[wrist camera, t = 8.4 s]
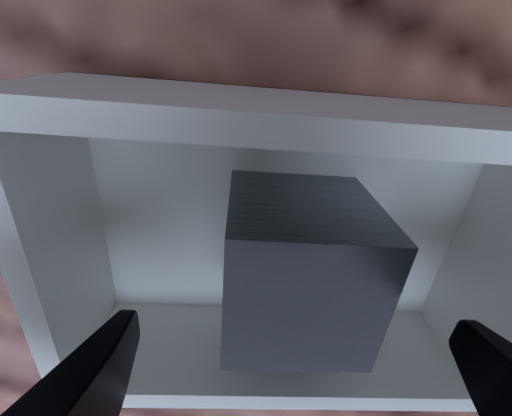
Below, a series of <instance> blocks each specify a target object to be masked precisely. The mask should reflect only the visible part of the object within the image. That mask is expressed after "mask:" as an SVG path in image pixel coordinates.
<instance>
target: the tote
mask: <svg viewBox="0 0 512 416" xmlns="http://www.w3.org/2000/svg"><path fill="white" fill-rule="evenodd" d="M232 170H242V171H258V172H275V173H291V174H308V175H324V176H341V177H356V178H357V179H358V180H359V181H360V183H361V184H362V185H363V186H364V187H365V188H366V189H367V190H368V192H369V193H370V194H371V195H372V196H373V197H374V198H375V200H376V201H377V202H378V203H379V204H380V205H381V206H382V207H383V209H384V210H385V211H386V212H387V213H388V214H389V215H390V217H391V218H392V219H393V220H394V221H395V222H396V223H397V224H398V226H399V227H400V228H401V229H402V230H403V231H404V232H405V234H406V235H407V236H408V237H409V238H410V239H411V240H412V242H413V243H414V244H415V245H416V246H417V247H418V248H419V249H418V252H417V254H416V257H415V260H414V262H413V265H412V267H411V270H410V273H409V275H408V278H407V280H406V283H405V286H404V288H403V291H402V294H401V296H400V299H399V301H398V304H397V307H396V309H395V312H394V314H393V317H392V320H391V322H390V325H389V327H388V330H387V333H386V335H385V338H384V340H383V343H382V346H381V348H380V351H379V353H378V356H377V359H376V361H375V364H374V366H373V369H372V372H371V373H342V372H289V371H235V370H220V356H221V327H222V299H223V270H224V242H225V231H226V222H227V212H228V203H229V194H230V184H231V175H232ZM0 272H1V274H2V277H3V280H4V282H5V285H6V288H7V290H8V293H9V295H10V298H11V301H12V303H13V306H14V309H15V311H16V314H17V316H18V319H19V322H20V324H21V327H22V330H23V332H24V335H25V337H26V340H27V343H28V345H29V348H30V351H31V353H32V356H33V358H34V361H35V364H36V366H37V369H38V371H39V374H40V377H41V379H42V378H43V377H44V376H45V375H47V374H48V373H49V372H50V371H51V370H52V369H53V368H54V367H56V366H57V365H58V364H59V363H60V362H61V361H62V360H64V359H65V358H66V357H67V356H68V355H69V354H70V353H71V352H73V351H74V350H75V349H76V348H77V347H78V346H79V345H81V344H82V343H83V342H84V341H85V340H86V339H87V338H88V337H90V336H91V335H92V334H93V333H94V332H95V331H96V330H98V329H99V328H100V327H101V326H102V325H103V324H104V323H105V322H107V321H108V320H109V319H110V318H111V317H112V316H113V315H115V314H116V313H117V312H118V311H119V310H122V309H129V310H136V311H137V313H138V319H139V327H140V339H139V343H138V347H137V351H136V355H135V359H134V363H133V367H132V371H131V375H130V379H129V383H128V387H127V391H126V395H125V399H124V402H123V405H122V408H194V409H284V410H374V411H464V412H477V410H476V408H475V406H474V404H473V402H472V400H471V398H470V395H469V393H468V391H467V388H466V386H465V384H464V381H463V379H462V376H461V374H460V372H459V369H458V367H457V365H456V362H455V360H454V357H453V355H452V353H451V350H450V348H449V337H450V335H451V334H452V332H453V330H454V328H455V326H456V324H457V322H458V321H459V320H462V319H466V320H476V321H478V322H480V323H481V324H483V325H485V326H486V327H488V328H489V329H491V330H492V331H494V332H496V333H497V334H499V335H500V336H502V337H503V338H505V339H507V340H508V341H510V342H511V343H512V108H510V107H501V106H489V105H476V104H464V103H451V102H438V101H426V100H413V99H401V98H388V97H375V96H363V95H350V94H338V93H325V92H312V91H300V90H287V89H275V88H262V87H249V86H237V85H224V84H212V83H199V82H186V81H174V80H161V79H149V78H136V77H123V76H111V75H98V74H86V73H73V72H65V73H57V74H49V75H40V76H32V77H23V78H15V79H7V80H0Z"/></svg>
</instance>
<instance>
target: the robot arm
mask: <svg viewBox="0 0 512 416" xmlns="http://www.w3.org/2000/svg"><path fill="white" fill-rule="evenodd" d="M139 339H140V327H139V319H138V313H137V311H136V310H129V309H122V310H119V311H118V312H117V313H116V314H115V315H113V316H112V317H111V318H110V319H109V320H108V321H107V322H105V323H104V324H103V325H102V326H101V327H100V328H99V329H98V330H96V331H95V332H94V333H93V334H92V335H91V336H90V337H88V338H87V339H86V340H85V341H84V342H83V343H82V344H81V345H79V346H78V347H77V348H76V349H75V350H74V351H73V352H71V353H70V354H69V355H68V356H67V357H66V358H65V359H64V360H62V361H61V362H60V363H59V364H58V365H57V366H56V367H54V368H53V369H52V370H51V371H50V372H49V373H48V374H47V375H45V376H44V377H43V378H42V379H41V380H40V381H39V382H37V383H36V384H35V385H34V386H33V387H32V388H31V389H30V390H28V391H27V392H26V393H25V394H24V395H23V396H22V397H20V398H19V399H18V400H17V401H16V402H15V403H14V404H12V405H11V406H10V407H9V408H8V409H7V410H6V411H5V412H3V413H2V414H1V415H0V416H119V414H120V411H121V408H122V405H123V402H124V399H125V395H126V391H127V387H128V383H129V379H130V375H131V371H132V367H133V363H134V359H135V355H136V351H137V347H138V343H139ZM449 348H450V350H451V353H452V355H453V357H454V360H455V362H456V365H457V367H458V369H459V372H460V374H461V376H462V379H463V381H464V384H465V386H466V388H467V391H468V393H469V395H470V398H471V400H472V402H473V404H474V406H475V408H476V410H477V412H478V414H479V416H512V343H511V342H510V341H508V340H507V339H505V338H503V337H502V336H500V335H499V334H497V333H496V332H494V331H492V330H491V329H489V328H488V327H486V326H485V325H483V324H481V323H480V322H478V321H476V320H466V319H462V320H459V321H458V322H457V324H456V326H455V328H454V330H453V332H452V334H451V335H450V337H449Z"/></svg>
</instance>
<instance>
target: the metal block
mask: <svg viewBox="0 0 512 416" xmlns="http://www.w3.org/2000/svg"><path fill="white" fill-rule="evenodd" d="M418 249H419V248H418V247H417V246H416V245H415V244H414V243H413V242H412V240H411V239H410V238H409V237H408V236H407V235H406V234H405V232H404V231H403V230H402V229H401V228H400V227H399V226H398V224H397V223H396V222H395V221H394V220H393V219H392V218H391V217H390V215H389V214H388V213H387V212H386V211H385V210H384V209H383V207H382V206H381V205H380V204H379V203H378V202H377V201H376V200H375V198H374V197H373V196H372V195H371V194H370V193H369V192H368V190H367V189H366V188H365V187H364V186H363V185H362V184H361V183H360V181H359V180H358V179H357V178H356V177H341V176H324V175H308V174H291V173H275V172H258V171H242V170H232V175H231V184H230V194H229V203H228V212H227V222H226V231H225V242H224V270H223V299H222V327H221V356H220V370H235V371H289V372H342V373H371V372H372V369H373V366H374V364H375V361H376V359H377V356H378V353H379V351H380V348H381V346H382V343H383V340H384V338H385V335H386V333H387V330H388V327H389V325H390V322H391V320H392V317H393V314H394V312H395V309H396V307H397V304H398V301H399V299H400V296H401V294H402V291H403V288H404V286H405V283H406V280H407V278H408V275H409V273H410V270H411V267H412V265H413V262H414V260H415V257H416V254H417V252H418Z"/></svg>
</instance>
